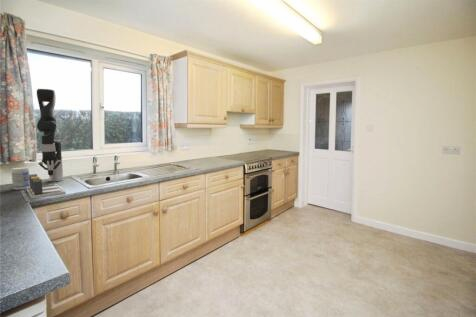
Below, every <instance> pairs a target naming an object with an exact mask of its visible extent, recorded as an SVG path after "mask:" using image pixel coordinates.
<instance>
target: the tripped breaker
mask: <svg viewBox="0 0 476 317" xmlns="http://www.w3.org/2000/svg"><path fill="white" fill-rule="evenodd" d="M34 179H40V177H39V175H37V176H36V177H31V184H32V191H34V186H33V180H34Z"/></svg>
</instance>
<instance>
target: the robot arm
mask: <svg viewBox="0 0 476 317" xmlns="http://www.w3.org/2000/svg"><path fill="white" fill-rule="evenodd" d="M36 99H37V103H38V106H39V111H40V118H39V120H38V121H37V124H36V129H37V130H38V131H39V132H42V133H43V135H41V156H42V159H41V161H39V162H38V165H39V166H40V167H41V168H42V169H44V170H45V171H47V175H48V178H49V182H61V181H64V173H63V157H62V142H61V140H59V139H55V135H56V131H57V127H58V126H57V118H56V115H54V111H55V106H56V99H57V95H56V91H55V90H54V89H50V88H49V89H48V88H38V89H37V90H36ZM45 103H46V104H45ZM45 166H46V167H45Z"/></svg>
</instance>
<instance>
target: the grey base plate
mask: <svg viewBox="0 0 476 317" xmlns="http://www.w3.org/2000/svg"><path fill="white" fill-rule="evenodd" d="M36 176H38V174H37V173H33V174H32V173H31V174H30V173H29V178H30V187H29V188H26V189H25V190H26V192H27V193H28V195H29V197H30V199H36V198H42V197H43V198H44V197H52V196H58V195H65V194H66V191H65V190H64V189H63V188H62V187H61V186H60V185H59V184H55V183H54V184H48V185H43V180H42V178H39V179H34V180H33V186H34V191H32V184H31V177H36Z"/></svg>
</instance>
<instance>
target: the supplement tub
mask: <svg viewBox="0 0 476 317" xmlns="http://www.w3.org/2000/svg"><path fill="white" fill-rule="evenodd" d="M29 169H30V168H29V167H27V166H26V167H24V166H23V167H13V168H11V179H12V180H11V181H12V182H11V183H12V189H13V190H15V191H16V190H17V191H18V190H27V189H26V188H30V178H29V175H30V170H29Z"/></svg>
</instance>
